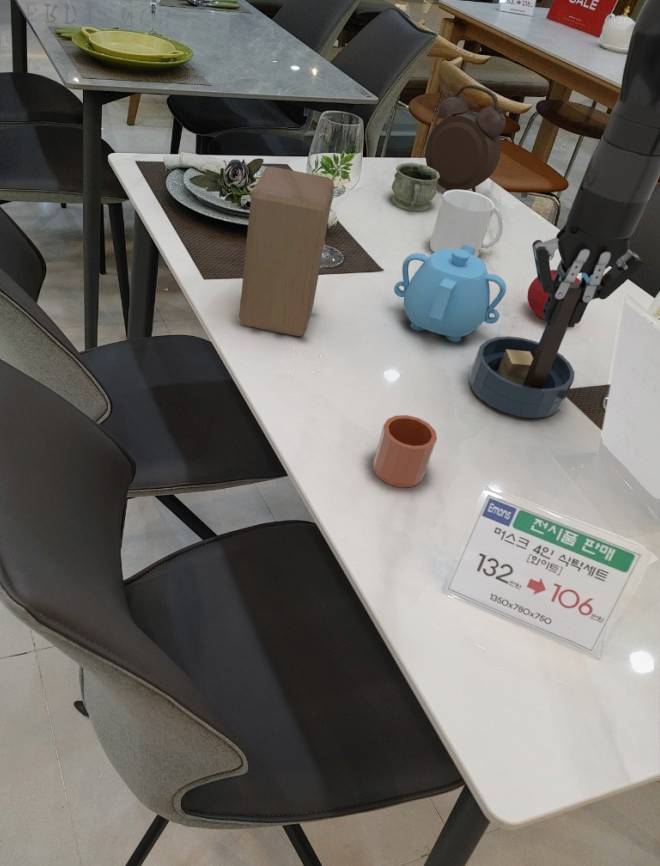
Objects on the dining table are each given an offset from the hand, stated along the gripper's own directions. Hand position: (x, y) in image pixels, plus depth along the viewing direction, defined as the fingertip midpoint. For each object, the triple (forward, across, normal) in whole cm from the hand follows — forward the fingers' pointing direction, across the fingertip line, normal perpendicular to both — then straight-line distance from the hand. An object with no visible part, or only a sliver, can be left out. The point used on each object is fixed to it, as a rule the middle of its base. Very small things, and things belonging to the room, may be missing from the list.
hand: (558, 322), depth 97 cm
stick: (+11, 0, +1) cm, 11 cm away
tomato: (+13, -10, -26) cm, 31 cm away
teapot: (+13, +9, -20) cm, 26 cm away
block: (+12, 0, -5) cm, 13 cm away
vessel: (+13, +8, -66) cm, 68 cm away
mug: (+13, +1, -46) cm, 48 cm away
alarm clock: (+13, -2, -75) cm, 77 cm away
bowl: (+13, +1, -3) cm, 13 cm away
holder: (+13, +20, +17) cm, 29 cm away
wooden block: (+13, +35, -16) cm, 40 cm away
